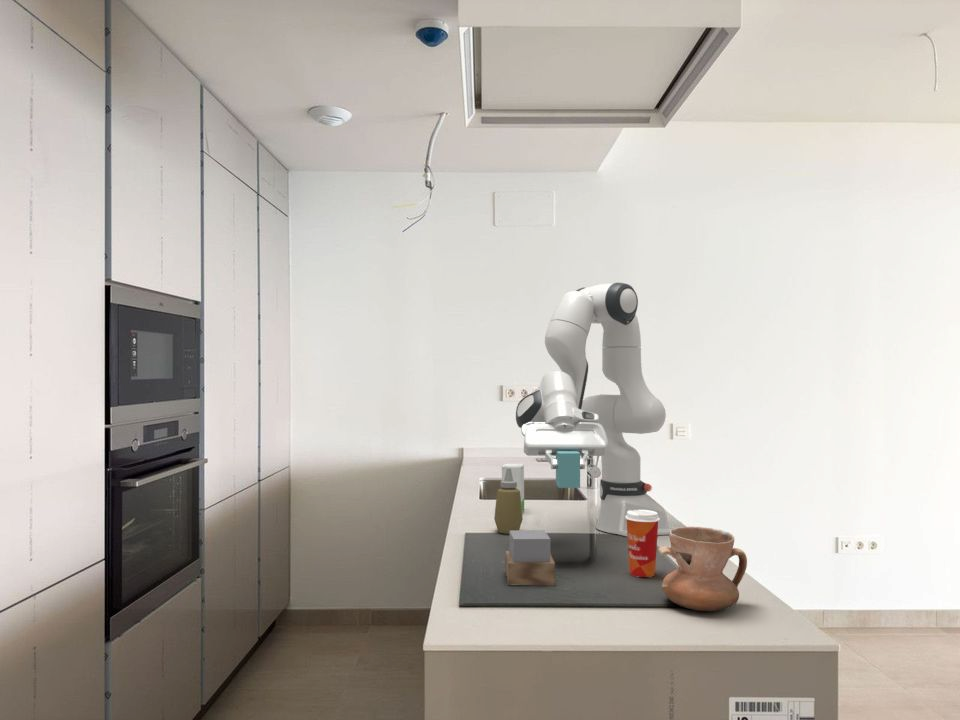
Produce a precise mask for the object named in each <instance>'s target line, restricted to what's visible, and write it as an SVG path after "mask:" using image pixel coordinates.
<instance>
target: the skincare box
mask: <svg viewBox="0 0 960 720" xmlns="http://www.w3.org/2000/svg"><path fill="white" fill-rule="evenodd" d="M507 468H510V469H511V472H512V477H513V481H516V482H517V487H516V488H517V489H518V490H519V491H520V496H521V507H522V514H524V512H525V464H524V463H505V464H503V465H502V466H501V481H504V479H505V474H506V470H507ZM523 511H524V512H523Z"/></svg>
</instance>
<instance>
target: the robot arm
mask: <svg viewBox="0 0 960 720" xmlns="http://www.w3.org/2000/svg"><path fill="white" fill-rule="evenodd" d="M638 305H639V300H638V295H637V292H636V290H635V289H634V287H633V286H632V285H630V284H628V283H623V282H614V283H610V282H609V283H599V284H596V285H591V286H587V287H581V288H578V289H575V290H571V291H567V292H566V293H565V294H564V295H562V297H561V299H560V300H559V302H558V304H557V306H556V307H555V310H554V311H553V313H552V316H551V318H550V321H549V323H548V326H547V329H546V332H545V335H544V346H545V348H546V351H547V353H548V355H549V356H550V357H551V359H552V360H553V361H554V362H555V363H556V365H557V366H558V368H559V369H560V370H550V371H548V372H546V373H544V375H543V376H542V378H541V380H540V384H539V386H537V388H536V390H535V391H533V392H531V393H529V394H527V395H525V396H524V397H523V398H522V399H521V400H520V401H519V402H518V403H517V406H516V409H515V410H516V411H515V421H516V425H517V426H518V427H519V428H520V429H521V431H520V432H521V434H522V436H523V437H524V439H523V453H524V454H525V455H527V456H528V457H529V456H531V457H532V456H533V457H534V456H536V457H541V456H542V457H545V460H546V461H547V462H548V463H549V465H550V470H556V469H557V467H558V463H557V462H558V461H557V459H556V458H555V459H554V457H556V451H578V452H579V453H580V470H585V469H586V461H587V460H588V457H600V458H601V459H600V460H601V478H600V482H599V483H600V484H599V498H600V504H599V505H600V506H599V513H598V517H597V518H598V519H597V522H596V525H595V528H596V529H597V530H599V531H601V532H606V533H609V534H615V535H616V534H617V535H619V536H624V537H627V519H626V518H625V516H626V515H627V512H628V511H629V510H631V511H632V510H650V511H655V512H657V513H658V517H659V518H660V520H659V521H658V534H657V536H662V535H663V536H666V535H669V532H670V530H671V529H673V528H676V527H675V526H674V525H673V524H672V523H670V522H669V519H668V515H667V512H666V509H665V508H664V507H663V506H662V505H661V504H660V503H658V502H657V501H656V500H655V499H654V498H652V497H651V496H650V495H649V494H647V493H648V492H651V491H652V489H653V487H652V484H650V483H646V482H645V481H643V480H641V455H640V453H639V452H638V450H637V449H636V448H634V447H633V446H632V445H630V444H629V443H628V442H627V441H626V440H625V439H624V434H638V435H643V434H651V433H657V432H658V431H660V429H662V428H663V427H664V424H665V423H666V418H667V414H666V408H665V406H664V404H663V402H662V401H661V400H660V399H659V398H657V397H656V396H655V395H654V394H653V393H652V392H651V390H650V389H649V387H648V386H647V384H646V381H645V379H644V376H643V375H644V374H643V369H642V340H641V331H640V325H639V319H638V316H637V312H638V307H639V306H638ZM592 324H601V326H602V330H603V331H602V332H603V333H602V345H601V347H602V348H601V349H602V351H601V353H602V363H601V364H602V365H601V366H602V367H601V370H602V373H603V375H604V377H605V378H606V379H607V380H609V381H610V382H612V383H614V384H616V386H617V387H618V390H619V393H620V394H602V393H601V394H596V395H590V396H587V397H585V398H584V396H585V391H586V385H587V382H588V381H587V380H588V374H589V363H588V360H587V356H586V355H587V353H586V345H587V339H588V336H589V333H590V330H591V326H592Z"/></svg>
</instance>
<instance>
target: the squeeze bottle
mask: <svg viewBox="0 0 960 720" xmlns="http://www.w3.org/2000/svg"><path fill="white" fill-rule="evenodd" d="M516 487H517V482H516V481H513V477H512V472H511V469H510V468H507V470H506V474H505V479H504V481H502V480H500V488H499V489H497V490H496V498H495V499H496V500H495V508H494V510H495V511H494V522H495V526H496V529H497V531H498V533H501V534H504V535H509V534H510V531H516V530H521V525H522V523H523V513H522V507H521V496H520V491H519V490H518V489H517V488H516Z"/></svg>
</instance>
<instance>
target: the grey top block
mask: <svg viewBox="0 0 960 720" xmlns="http://www.w3.org/2000/svg"><path fill="white" fill-rule="evenodd" d="M508 536H509V541H508V542H509V550H508V551H509V553H510V555H511V558H512V560H513V562H514V563H517V562H550V554H551V538H550V536H549V535H548V533H547V531H546V530H543V529H542V530H541V529H538V530H537V529H535V530H531V529H530V530H529V529H528V530H523V529H522V530H521V529H519V530H516V531H510V534H508Z"/></svg>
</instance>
